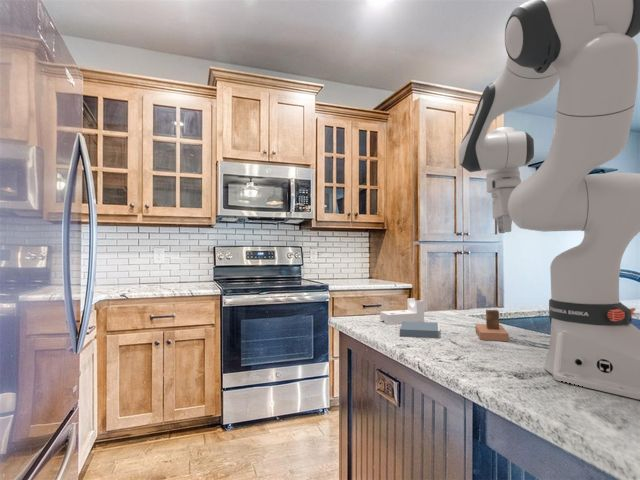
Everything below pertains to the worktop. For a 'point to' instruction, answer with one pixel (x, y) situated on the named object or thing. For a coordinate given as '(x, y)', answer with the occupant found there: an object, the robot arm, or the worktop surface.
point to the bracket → (405, 313)
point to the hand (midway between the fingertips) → (504, 232)
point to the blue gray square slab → (420, 329)
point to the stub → (492, 328)
